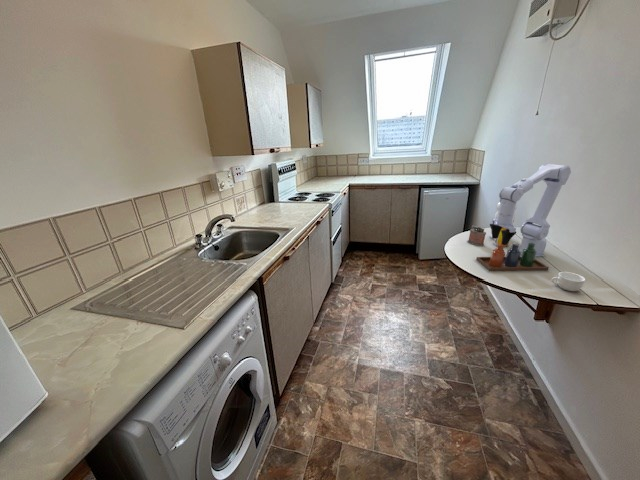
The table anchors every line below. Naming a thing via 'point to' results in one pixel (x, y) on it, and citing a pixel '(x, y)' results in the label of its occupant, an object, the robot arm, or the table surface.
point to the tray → (536, 267)
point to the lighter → (477, 236)
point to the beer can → (500, 237)
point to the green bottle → (528, 256)
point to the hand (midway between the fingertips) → (499, 241)
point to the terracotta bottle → (497, 256)
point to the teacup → (569, 281)
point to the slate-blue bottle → (512, 256)
